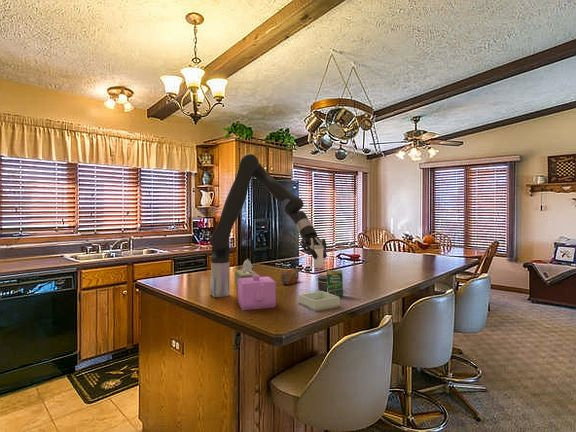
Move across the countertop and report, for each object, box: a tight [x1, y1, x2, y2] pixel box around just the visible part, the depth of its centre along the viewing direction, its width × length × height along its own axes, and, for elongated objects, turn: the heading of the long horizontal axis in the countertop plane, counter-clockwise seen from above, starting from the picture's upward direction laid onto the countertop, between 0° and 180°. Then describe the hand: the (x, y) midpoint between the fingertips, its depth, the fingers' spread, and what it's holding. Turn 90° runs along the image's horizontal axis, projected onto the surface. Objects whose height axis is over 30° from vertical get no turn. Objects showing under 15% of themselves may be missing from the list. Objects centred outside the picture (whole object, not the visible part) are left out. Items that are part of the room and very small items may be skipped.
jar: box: [317, 274, 327, 293], centre depth 189 cm, size 10×10×8 cm
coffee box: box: [326, 269, 344, 298], centre depth 177 cm, size 8×3×13 cm, turn 90°
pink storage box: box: [237, 274, 277, 311], centre depth 160 cm, size 15×25×14 cm, turn 17°
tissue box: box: [234, 258, 259, 287], centre depth 202 cm, size 19×10×16 cm, turn 20°
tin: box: [280, 268, 299, 285], centre depth 209 cm, size 15×3×8 cm, turn 143°
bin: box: [297, 290, 341, 312], centre depth 160 cm, size 14×14×4 cm
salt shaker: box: [313, 245, 324, 269], centre depth 160 cm, size 4×4×10 cm
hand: (320, 257), depth 159 cm, fingers closed on salt shaker, 4 cm apart
